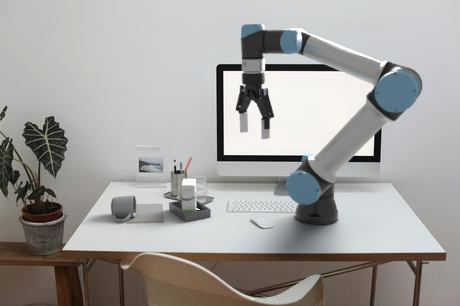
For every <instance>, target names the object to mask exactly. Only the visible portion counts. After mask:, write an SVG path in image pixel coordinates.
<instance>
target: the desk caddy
mask: <svg viewBox="0 0 460 306" xmlns="http://www.w3.org/2000/svg"><path fill="white" fill-rule="evenodd" d="M196 202H197V207H196V208H198V209H200V210H196V212H191V213H185V212H183V211H182V199H181V200H175V201H171V202H170V201H169V202H168V210H169V211H170V212H171V213H172V214H173V215H175V216H176V217H177V218H179V219H180V220H182V221H183V222H184V223H188V222H193V221H198V220H205V219H209V218H211V217H212V216H211V214H212V211H211V208H209V207H208V206H207V205H205V204H203V203H201V202H200V201H198V200H197V199H196Z"/></svg>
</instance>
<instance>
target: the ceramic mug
mask: <svg viewBox="0 0 460 306" xmlns="http://www.w3.org/2000/svg"><path fill="white" fill-rule="evenodd" d="M137 210H138V209H137V199H136V196H135V195H124V196H115V197H113V198H111V202H110V212H111V215H112V217H113V219H114V221H115V222H116V223H121V224H123V223H126V222H127V221H129V219H131V218H135V217H134V215H133V213H136V214H137ZM119 218H120V219H119ZM121 218H122V219H121Z"/></svg>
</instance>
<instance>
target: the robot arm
mask: <svg viewBox="0 0 460 306" xmlns="http://www.w3.org/2000/svg"><path fill="white" fill-rule="evenodd" d="M240 29H241V30H240V48H241V71H242V73H241V83H242V84H240V85H239V94H238V97H237V101H236V105H235V111H236V112H238V113H239V132H240V133H241V134H242V133H248V132H249V120H248V118H249V117H248V109H249V106H250V105H251V102H252V101H253V102H254V103H255V104H256V105H257V109H258V110H259V113H260V116H261V118H260V119H261V120H260V121H261V122H260V123H261V124H260V126H261V128H260V129H261V131H260V132H261V133H260V134H261V140H267V139H271V136H270V129H271V119H273V118H275V114H274V110H273V106H272V103H271V100H270V95H269V89H268V87H265V88H263V85H264V84H265V83H266V77H265V76H266V74H265V72H264V71H266V63H265V59H266V58H265V54H267V55H268V54H271V55H273V54H275V55H277V54H278V55H280V54H281V55H283V54H285V55H293V54H297V55H300V56H303V57H304V58H305V57H306V58H308V59H311V60H312V61H316V62H317V63H320V64H322V65H325V66H328V67H330V68H332V69H334V70H337V71H340V72H342V73H345V74H346V75H350V76H352V77H354V78H357V79H359V80H362V81H364V82H367V83H368V84H371V85H373V87H372V89H371V90H370V91H369V92H368V93H367V94H366V97H365V98H366V99H365V100H366V101H365V104H364V105H363V106H362V107H361V108H359V110H358V111H357V112H356V113H354V115H353V116H352V117H351V118H350V119H349V120H348V121H347V123H345V124H344V126H343V127H342V128H341V129H340V130H339V131H338V132H337V133H336V134H335V135H334V136H333V137H332V138H331V139H330V140H329V141H328V142H327V144H326V145H325V146H324V147H323V148H322V149H321V150H320V151H319V152H318V153H306V154H303V155H302V157H301V164H300V165H299V167H297V168H296V170H295V171H293V172H291V173H290V174H289V176H288V178H287V180H286V182H285V183H286V184H285V187H286V192H287V194H288V197H289V198H291V200H292V201H294V202H295V203H297V206H296V209H295V216H294V217H295V218H296V220H298V221H300V222H302V223H304V224H309V225H329V224H333V223H335V222H337V221H338V219H339V211H338V207H337V204H336V201H335V182H336V180H337V175H336V174H337V173H338V172H339V171H340V170H341V169H342V168H343V167H344V166H346V164H347V163H348V162H350V160H351V159H352V158H353V157H354V156H356V154H357V153H358V152H359V151H360V150H361V149H362V148H363V147H364V146H365V145H367V143H368V142H369V141H370V140H371V139H372V138H373V137H374V136H375V135H376V134H377V133H378V132H379V131H380V130H381V129H382V128H383V127H384V126H385V124H387V123H388V122H391V123H392V122H396V121H397V120H398V119H399V118H400V117H401V116H402V115H403V114H404V113H405V112H406V111H407V110H409V109H410V108H412V107H413V105H414V104H415V103H416V102H417V99H418V98H419V97H420V95H421V93H422V91H423V80H422V78H421V75H420V74H419V73H418V72H417V71H416V70H414V69H413V68H410V67H408V66H403V65H400V64H398V63H394V62H391V61H389V60H386V61H383V62H382V61H380V60H377V59H374V58H373V57H370V56H367V55H365V54H362V53H359V52H357V51H355V50H352V49H350V48H346V47H344V46H343V45H342V46H341V45H339V44H337V43H335V42H333V41H329V40H327V39H324V38H322V37H320V36H317V35H314V34H311V33H308V32H307V31H306V30H304V29H303V28H300V27H299V28H298V27H293V28H285V29H270V30H269V29H265V25H264V24H263V23H246V24H242V26H241V28H240Z"/></svg>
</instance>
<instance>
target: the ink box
mask: <svg viewBox="0 0 460 306" xmlns="http://www.w3.org/2000/svg"><path fill="white" fill-rule="evenodd" d="M181 200H182V211H183V212H185V213H191V212H196V207H197V202H196V200H197V179H196V178H183V179H182V182H181Z"/></svg>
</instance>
